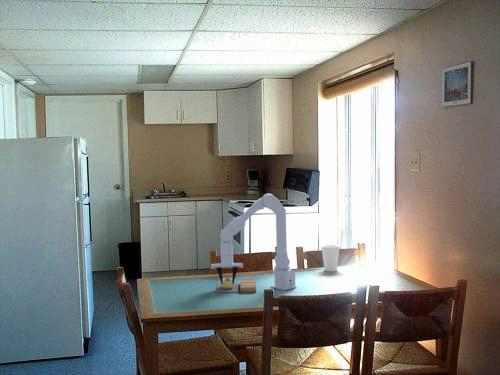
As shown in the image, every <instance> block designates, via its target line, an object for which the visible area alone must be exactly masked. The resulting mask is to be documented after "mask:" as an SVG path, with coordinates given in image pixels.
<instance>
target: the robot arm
mask: <svg viewBox="0 0 500 375" xmlns="http://www.w3.org/2000/svg"><path fill="white" fill-rule="evenodd" d="M264 207H265V208H267V209H268V210H271V211H272V212H273V213H274V214H275V234H276V237H275V238H276V239H275V240H276V242H275V243H276V254H275V256H274V262H275V264H276V265H275V266H274V268H273V269H274V271H273V272H274V275H273V276H274V284H273V285H270V288H274V289H277V290H283V291H286V290H291V289H296V288H297V285H296V274H295V271H294V270H292V269H291V266H290V263H291V262H290V259H289V257H288V249H287V248H288V247H287V246H288V245H287V216H286V215H287V212H286V211H287V210H286V208H285V207H284V206H283V204H282V203H281V201H280V200H279V198H277V197H276V196H275V195H273V194H272V193H264V194H263V195H262V197H260V198H258V199H257V200H256V201H255V202H253V203H252V205H251V206H249V207H248V209H247V210H245V212H244V213H243V214H241V215H240V216H236V217H233V218H231V220H232V221H230V222H229V223H228V224H227V225H225V226H224V228H223V229H222V230H220V234H219V238H220V262H219V263H211V267H210V269H211V270H213V269H216V272H217V274H218V277H219V278H220V284H223V278H224V277H223V269H231V270H232V277H231V278H232V284H235V278H236V276H237V272H238V271H239V268H241V269H243V268H244V264H243V263H242V262H234V244H233V238H234V237H233V236H235V235H237V234H239V232H240V231H241V230H242V229H244V227H246V221H248V220H249V219H250V218H251V217H252V216H254V214H256V213H257V212H258V211H261V210H264V209H265V208H264Z"/></svg>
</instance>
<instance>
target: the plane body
mask: <svg viewBox="0 0 500 375" xmlns="http://www.w3.org/2000/svg"><path fill="white" fill-rule="evenodd" d="M239 284H240V286H239V287H240V291H239V292H240V294H254V293H257V284H256V278H240V283H239Z"/></svg>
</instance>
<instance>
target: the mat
mask: <svg viewBox="0 0 500 375" xmlns="http://www.w3.org/2000/svg"><path fill="white" fill-rule="evenodd" d="M239 284H240V283H234V284H233V288H229V289H223V284H221V283H218V284H217V286H216V292H215V293H216V294H230V293H231V294H237V293H238V294H239V287H240V286H239Z"/></svg>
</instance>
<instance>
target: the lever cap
mask: <svg viewBox="0 0 500 375" xmlns="http://www.w3.org/2000/svg"><path fill="white" fill-rule="evenodd" d="M222 278H223V289H229V288H233V284H232V278H233V277H230V276H229V277H226V276H225V277H222Z"/></svg>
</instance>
